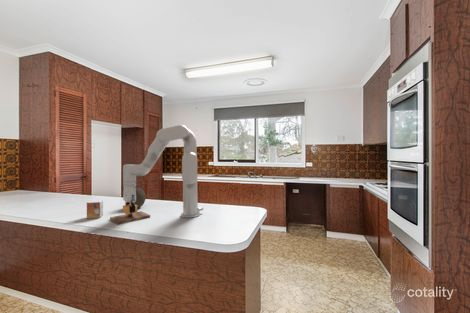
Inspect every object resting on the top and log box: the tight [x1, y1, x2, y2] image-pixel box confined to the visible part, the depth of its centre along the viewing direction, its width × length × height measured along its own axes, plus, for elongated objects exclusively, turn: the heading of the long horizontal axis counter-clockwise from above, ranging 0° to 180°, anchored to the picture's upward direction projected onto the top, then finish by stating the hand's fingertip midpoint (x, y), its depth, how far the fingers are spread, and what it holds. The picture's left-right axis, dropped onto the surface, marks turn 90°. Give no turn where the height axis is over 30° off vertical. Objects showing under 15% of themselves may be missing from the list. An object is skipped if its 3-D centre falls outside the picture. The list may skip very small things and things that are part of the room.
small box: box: [86, 200, 104, 219], centre depth 147 cm, size 8×6×10 cm
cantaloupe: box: [131, 187, 147, 209], centre depth 171 cm, size 14×14×15 cm
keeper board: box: [109, 210, 151, 226], centre depth 143 cm, size 20×14×7 cm
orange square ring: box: [122, 204, 138, 215], centre depth 143 cm, size 7×7×4 cm
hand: (130, 211), depth 143 cm, fingers closed on orange square ring, 6 cm apart
